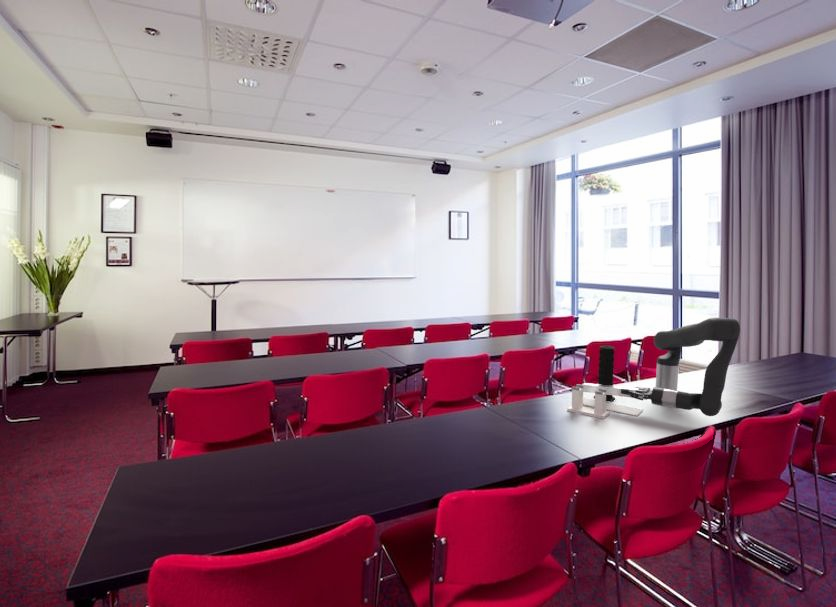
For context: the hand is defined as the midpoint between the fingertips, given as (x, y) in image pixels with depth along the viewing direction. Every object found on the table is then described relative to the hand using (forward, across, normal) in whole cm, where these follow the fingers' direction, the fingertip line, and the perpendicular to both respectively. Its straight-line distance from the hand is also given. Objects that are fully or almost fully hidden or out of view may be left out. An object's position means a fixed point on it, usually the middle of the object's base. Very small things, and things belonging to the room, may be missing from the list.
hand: (622, 390), depth 204 cm
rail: (+5, 0, +3) cm, 6 cm away
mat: (+6, 0, +9) cm, 11 cm away
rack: (+10, +14, +9) cm, 20 cm away
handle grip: (+11, -12, +9) cm, 19 cm away
